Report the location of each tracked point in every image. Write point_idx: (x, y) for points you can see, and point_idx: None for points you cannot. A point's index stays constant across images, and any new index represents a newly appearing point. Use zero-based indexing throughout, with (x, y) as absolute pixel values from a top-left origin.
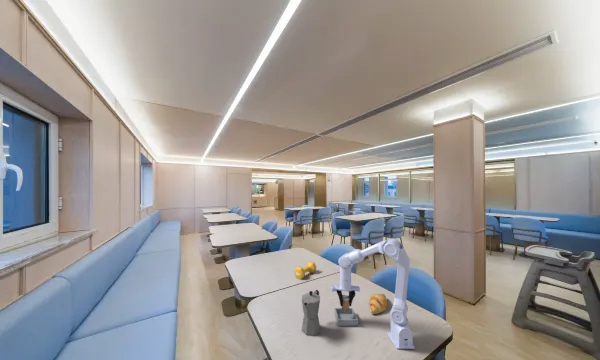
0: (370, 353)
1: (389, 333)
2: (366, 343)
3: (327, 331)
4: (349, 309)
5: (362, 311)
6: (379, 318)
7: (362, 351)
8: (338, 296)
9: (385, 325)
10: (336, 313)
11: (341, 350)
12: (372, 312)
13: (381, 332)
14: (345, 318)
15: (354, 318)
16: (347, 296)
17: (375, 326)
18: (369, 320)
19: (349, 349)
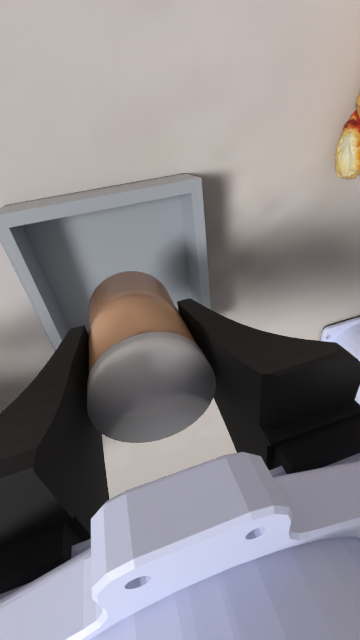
0: (212, 435)
1: (331, 335)
2: (211, 403)
3: (10, 403)
4: (165, 195)
5: (278, 117)
6: (356, 204)
7: (186, 438)
8: (28, 394)
9: (349, 269)
10: (39, 307)
11: (105, 462)
12: (348, 178)
13: (301, 326)
14: (120, 271)
15: (190, 271)
16: (188, 380)
17: (294, 290)
18: (284, 241)
19: (138, 448)
